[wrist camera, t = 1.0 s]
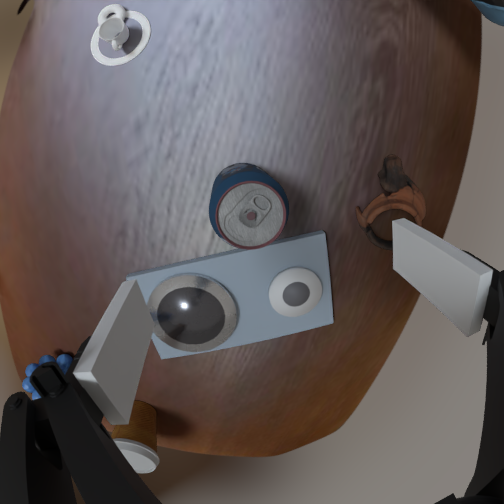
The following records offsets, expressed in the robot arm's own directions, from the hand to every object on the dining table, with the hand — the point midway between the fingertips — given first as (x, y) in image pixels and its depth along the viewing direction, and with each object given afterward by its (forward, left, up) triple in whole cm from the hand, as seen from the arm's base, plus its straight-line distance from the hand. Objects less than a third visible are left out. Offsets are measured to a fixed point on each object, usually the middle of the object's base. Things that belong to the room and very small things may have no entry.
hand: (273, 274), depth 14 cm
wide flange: (+10, +14, -21) cm, 27 cm away
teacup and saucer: (+8, -25, -23) cm, 35 cm away
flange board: (+4, +14, -23) cm, 27 cm away
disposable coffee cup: (+27, +34, -23) cm, 49 cm away
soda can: (0, 0, -23) cm, 23 cm away
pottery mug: (-18, +4, -23) cm, 30 cm away
